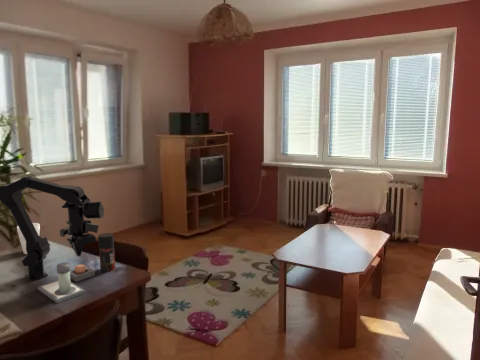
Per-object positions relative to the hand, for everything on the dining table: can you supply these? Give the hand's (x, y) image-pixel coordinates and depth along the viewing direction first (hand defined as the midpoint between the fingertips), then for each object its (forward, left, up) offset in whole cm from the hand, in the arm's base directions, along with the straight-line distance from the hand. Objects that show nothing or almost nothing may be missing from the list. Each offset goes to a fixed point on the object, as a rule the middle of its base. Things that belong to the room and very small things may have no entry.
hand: (78, 255), depth 152 cm
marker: (+12, -11, -7) cm, 18 cm away
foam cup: (-45, -2, -9) cm, 46 cm away
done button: (0, 0, -7) cm, 7 cm away
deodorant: (+2, +11, -9) cm, 14 cm away
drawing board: (+8, -11, -9) cm, 16 cm away
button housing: (0, 0, -9) cm, 9 cm away
